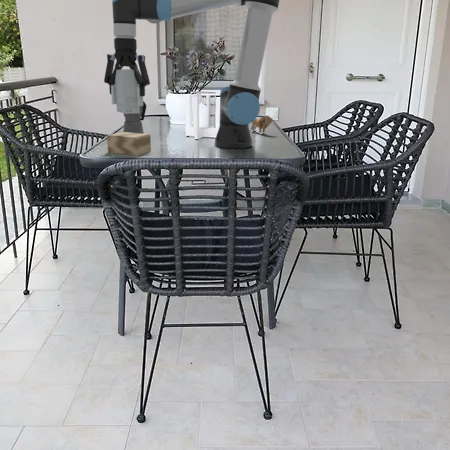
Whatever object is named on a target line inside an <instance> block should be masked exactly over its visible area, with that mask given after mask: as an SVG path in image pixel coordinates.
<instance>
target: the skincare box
mask: <svg viewBox="0 0 450 450" xmlns="http://www.w3.org/2000/svg"><path fill="white" fill-rule="evenodd" d="M136 71H137V70H136ZM138 86H139V84H138V82H137V80H136V78H135V76H134V70H131V69H130V68H129V69H127V68H126V69H123V68H122V69H121V70H116V76H115V90H116V104H115V105H116V112H117V113H121V114H124V113H125V114H129V113H133V114H139V113H140V106H138V105H137V87H138Z"/></svg>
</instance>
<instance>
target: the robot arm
mask: <svg viewBox="0 0 450 450" xmlns="http://www.w3.org/2000/svg"><path fill="white" fill-rule="evenodd" d="M280 1H281V0H111V3H112V20H113V21H112V22H113V24H112V25H113V36H114V37H115V38H114V39H113V47H114V53H108V54H106V57H107V59H106V60H107V61H106V62H107V63H106V68H105V72H104V73H105V74H104V77H103V78H104V79H103V82H104V83H105V84H108V85H109V87H108V88H109V94H110V96H111V104H112V105H116V90H115V76H116V70H122V69H123V68H124V67H126V68H129V69H131V70H134V76H135V78H136V80H137V82H138V87H137V105H138V106H143V101H144V97H145V96H146V86H148V85H149V86H150V85H151V82H150V81H151V80H150V78H149V74H148V69H147V66H146V56H145V55H144V54H138V53H137V49H138V46H137V45H138V44H137V39H136V37H137V20H142V21H143V20H145V21H147V22H149V23H150V24H158V23H160V22H164V21H165V22H166V21H167V22H168V21H170V20H174V19H177V18H182V17H184V16H185V17H186V16H189V15H194V14H199V13H203V12H207V11H211V10H216V9H221V8H225V7H228V6H229V7H230V6H233V5H237V6H238V7H243V6H246V7H247V14H246V17H245V18H246V20H245V24H244V28H243V30H244V31H243V35H242V40H241V45H240V51H239V56H238V59H237V60H238V61H237V66H236V72H235V77H234V80H232V81H231V82H230V83H229V86H222V87H221V88H220V93H219V98H220V99H219V100H220V101H219V105H220V106H219V127H218V130H217V133H216V136H215V139H214V146H215V147H219V148H224V149H247V147H249V148H251V147H250V146H252V147H253V139H252V135H251V132H250V131H251V130H249V129H250V128H249V124H251V123H252V122H253V121H254V120H255V119H256V118H257V119H258V117H259V115H260V114H259V113H260V109H261V105H260V98H261V97H260V96H261V91H262V89H261V87H260V86H259V81H260V75H261V71H262V65H263V60H264V56H265V51H266V45H267V41H268V38H269V37H268V36H269V32H270V31H269V30H270V27H271V22H272V17H273V15H274V13H275V12H277V11H278V9H279V5H280ZM115 60H116V62H115ZM136 61H137V63H136ZM137 64H138V65H137ZM138 66H139V68H138ZM136 70H137V71H136Z"/></svg>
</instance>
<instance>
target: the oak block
mask: <svg viewBox="0 0 450 450" xmlns="http://www.w3.org/2000/svg"><path fill="white" fill-rule="evenodd" d="M106 139H107V140H106V141H107V143H106V144H107V153H108V152H111V153H110V154H116V153H119V154H118V155H127V156H135V157H137V156H140V155H143V154H146V153H151V151H152V147H151V146H152V145H151V143H152V142H151V134H149V133H144V134H141V133H130V132H123V131H120V132H116V133H112V134H108V135H106Z"/></svg>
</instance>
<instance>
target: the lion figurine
mask: <svg viewBox="0 0 450 450" xmlns="http://www.w3.org/2000/svg"><path fill="white" fill-rule="evenodd" d="M273 121H274V120H272V119H271V117H270V115H269V114H268V115H263V116H262V117H261V118H260V119H259V118H258V117H257V118H256V119H255V120H254V121H253V122H252V124H251V125H252V126H251V128H250V129H251V131H252V130H253V131H254V129H255V130H256V129H257V128H258V130H259V131H258V132H261V133H262V132H264V133H265V131H266V129H267V128H268V127H269V126H270V125H271V124H272V123H273Z"/></svg>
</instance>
